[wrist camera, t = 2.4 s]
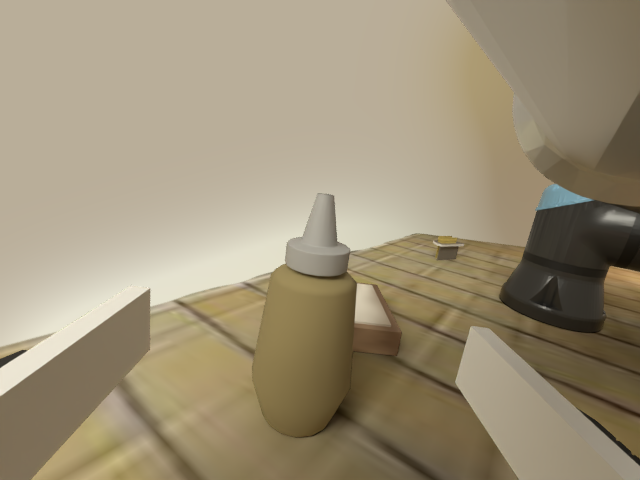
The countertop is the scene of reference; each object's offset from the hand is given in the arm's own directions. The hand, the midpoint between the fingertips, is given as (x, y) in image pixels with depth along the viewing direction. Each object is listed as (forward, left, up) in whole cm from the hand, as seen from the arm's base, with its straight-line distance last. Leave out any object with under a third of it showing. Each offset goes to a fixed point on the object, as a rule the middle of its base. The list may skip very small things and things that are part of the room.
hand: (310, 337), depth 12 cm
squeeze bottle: (0, -10, -13) cm, 17 cm away
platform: (-38, -67, -14) cm, 78 cm away
